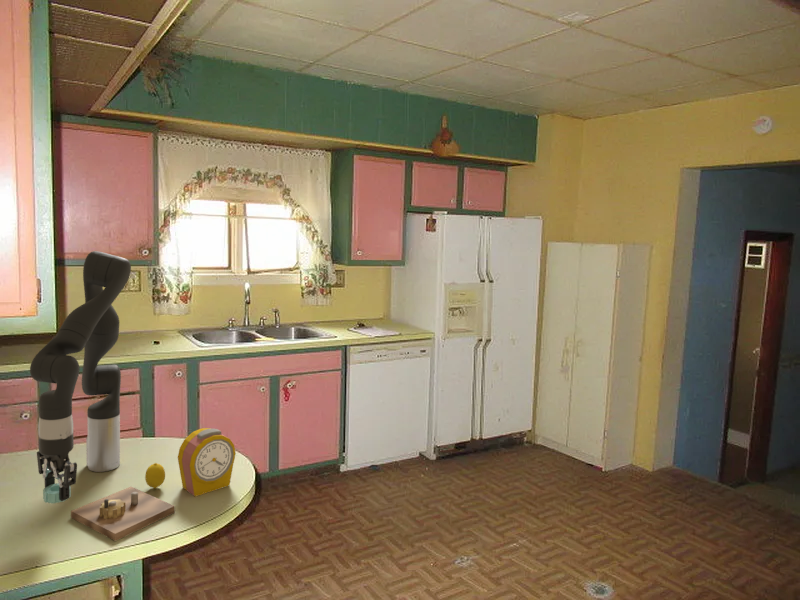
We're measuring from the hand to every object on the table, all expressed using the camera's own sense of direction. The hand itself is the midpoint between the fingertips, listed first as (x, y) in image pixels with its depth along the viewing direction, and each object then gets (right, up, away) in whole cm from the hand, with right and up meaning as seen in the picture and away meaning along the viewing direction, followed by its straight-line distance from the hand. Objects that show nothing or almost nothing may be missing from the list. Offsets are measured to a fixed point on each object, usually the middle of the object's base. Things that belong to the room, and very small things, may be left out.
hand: (57, 495), depth 150 cm
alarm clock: (+28, -8, +31) cm, 43 cm away
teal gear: (0, -1, 0) cm, 1 cm away
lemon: (+13, -8, +28) cm, 32 cm away
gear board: (+11, -10, +12) cm, 19 cm away
